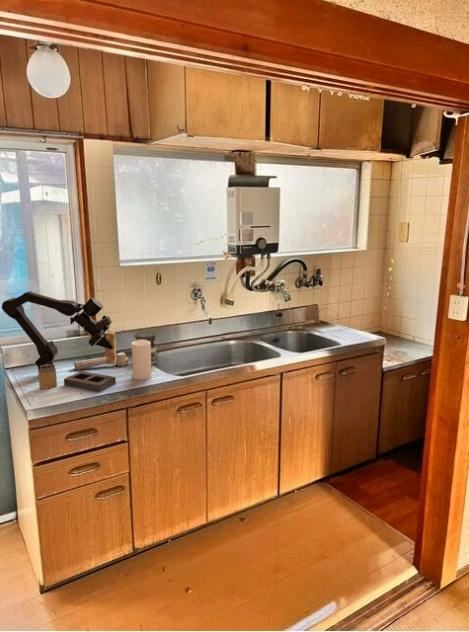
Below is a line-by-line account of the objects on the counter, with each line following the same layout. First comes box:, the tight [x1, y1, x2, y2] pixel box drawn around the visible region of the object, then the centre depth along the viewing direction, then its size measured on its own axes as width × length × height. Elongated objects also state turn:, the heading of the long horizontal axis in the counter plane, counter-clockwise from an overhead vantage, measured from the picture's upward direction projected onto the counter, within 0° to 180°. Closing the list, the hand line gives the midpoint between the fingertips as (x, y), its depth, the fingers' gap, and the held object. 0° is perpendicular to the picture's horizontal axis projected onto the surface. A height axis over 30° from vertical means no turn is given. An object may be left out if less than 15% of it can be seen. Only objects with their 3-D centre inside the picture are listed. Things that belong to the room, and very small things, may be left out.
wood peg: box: [104, 331, 117, 365], centre depth 208 cm, size 4×4×14 cm
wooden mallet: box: [73, 352, 130, 371], centre depth 222 cm, size 5×7×25 cm
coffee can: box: [133, 331, 157, 365], centre depth 230 cm, size 10×10×14 cm
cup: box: [131, 340, 152, 381], centre depth 209 cm, size 8×8×16 cm
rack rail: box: [63, 370, 117, 393], centre depth 200 cm, size 18×11×3 cm, turn 68°
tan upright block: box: [37, 364, 58, 390], centre depth 195 cm, size 7×4×10 cm, turn 120°
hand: (113, 347), depth 208 cm, fingers closed on wood peg, 4 cm apart
